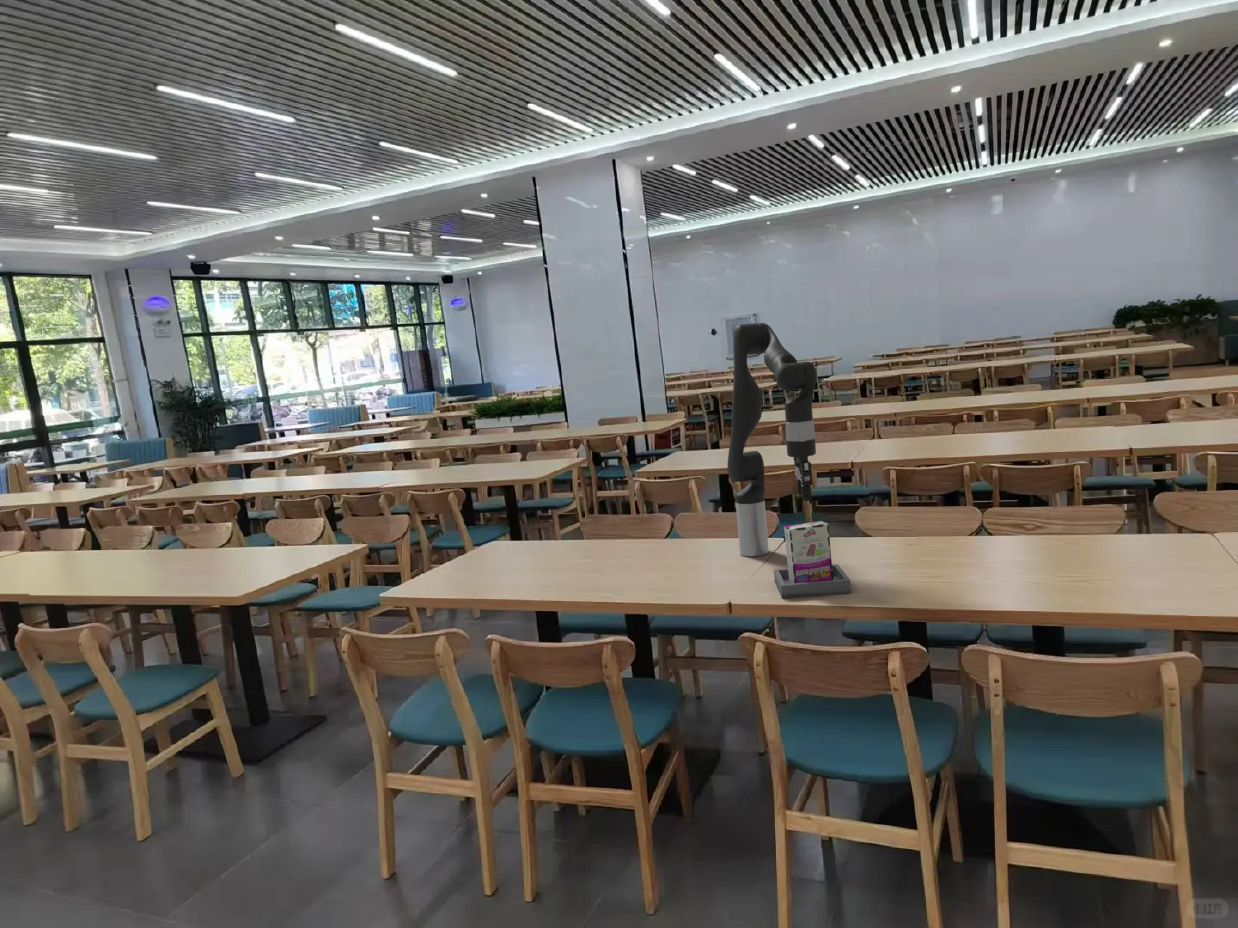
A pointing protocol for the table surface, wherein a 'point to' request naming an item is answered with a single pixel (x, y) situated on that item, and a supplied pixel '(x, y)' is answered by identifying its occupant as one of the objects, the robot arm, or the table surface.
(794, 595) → the tray
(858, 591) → the table surface
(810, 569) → the candy bar box
